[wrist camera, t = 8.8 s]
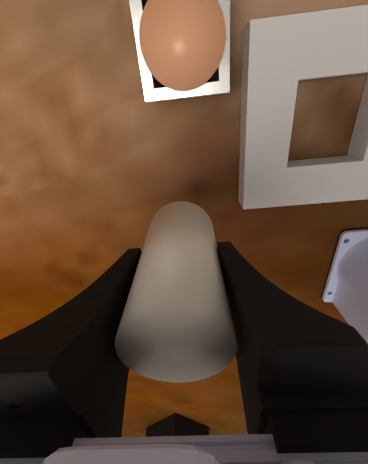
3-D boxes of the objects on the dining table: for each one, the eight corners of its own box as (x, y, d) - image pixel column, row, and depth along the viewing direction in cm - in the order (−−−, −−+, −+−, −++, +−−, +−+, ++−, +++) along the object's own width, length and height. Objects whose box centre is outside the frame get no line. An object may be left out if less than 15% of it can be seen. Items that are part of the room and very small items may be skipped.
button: (218, 89, 15) (226, 86, 12) (155, 96, 16) (147, 94, 13) (216, 2, 13) (225, -29, 10) (143, 12, 14) (130, -16, 10)
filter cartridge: (212, 255, 15) (233, 382, 8) (153, 256, 15) (126, 383, 8) (213, 200, 13) (242, 306, 6) (146, 202, 13) (102, 309, 6)
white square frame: (374, 189, 20) (392, 197, 18) (238, 200, 21) (243, 209, 19) (437, 4, 14) (472, -10, 12) (242, 29, 15) (250, 20, 13)
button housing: (220, 94, 16) (229, 92, 13) (153, 102, 17) (145, 101, 13) (219, 1, 14) (230, -32, 11) (141, 12, 14) (126, -17, 11)
